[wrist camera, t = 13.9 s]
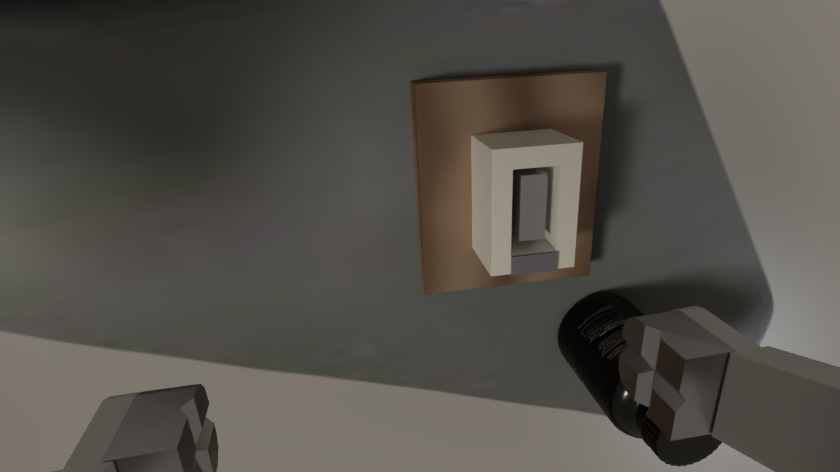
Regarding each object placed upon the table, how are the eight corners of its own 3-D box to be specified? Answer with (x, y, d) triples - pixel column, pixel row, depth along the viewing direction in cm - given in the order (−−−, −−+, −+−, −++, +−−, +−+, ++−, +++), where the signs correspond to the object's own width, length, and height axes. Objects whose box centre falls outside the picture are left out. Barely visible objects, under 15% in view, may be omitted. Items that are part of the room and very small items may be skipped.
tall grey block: (499, 219, 34) (519, 241, 30) (499, 160, 32) (520, 176, 28) (521, 216, 34) (544, 238, 30) (523, 158, 32) (547, 173, 29)
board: (420, 281, 37) (425, 294, 35) (410, 81, 31) (415, 83, 30) (577, 263, 38) (589, 275, 36) (591, 69, 33) (607, 71, 31)
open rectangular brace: (471, 134, 31) (492, 150, 27) (551, 128, 32) (584, 143, 28) (472, 247, 34) (492, 277, 30) (545, 239, 35) (575, 268, 30)
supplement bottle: (549, 366, 41) (627, 485, 30) (561, 291, 39) (651, 392, 28) (626, 361, 43) (728, 475, 31) (642, 288, 40) (760, 384, 29)
